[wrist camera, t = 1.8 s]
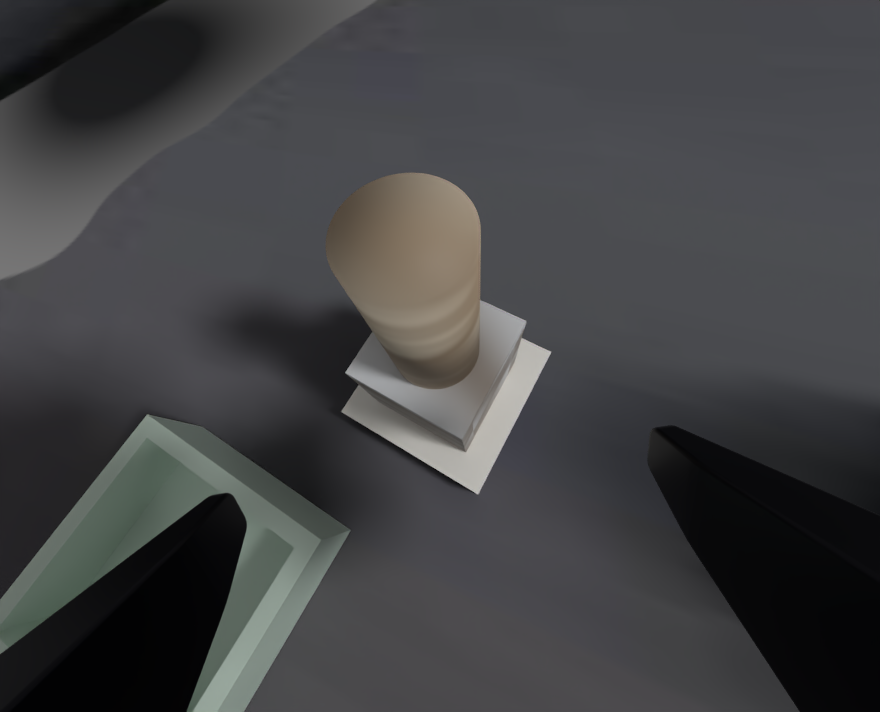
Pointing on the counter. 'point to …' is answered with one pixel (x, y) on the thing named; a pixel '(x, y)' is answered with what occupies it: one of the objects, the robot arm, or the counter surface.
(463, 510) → the counter surface
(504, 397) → the stud plate
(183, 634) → the robot arm
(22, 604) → the tray
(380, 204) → the stamp
